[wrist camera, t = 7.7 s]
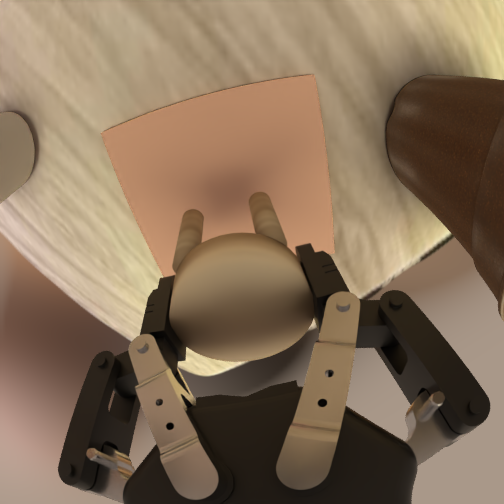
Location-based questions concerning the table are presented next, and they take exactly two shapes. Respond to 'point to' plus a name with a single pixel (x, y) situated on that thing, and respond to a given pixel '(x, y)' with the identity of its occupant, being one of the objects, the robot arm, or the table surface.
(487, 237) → the plant pot
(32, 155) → the can
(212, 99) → the mat
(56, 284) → the table surface
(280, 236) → the stool
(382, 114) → the table surface
